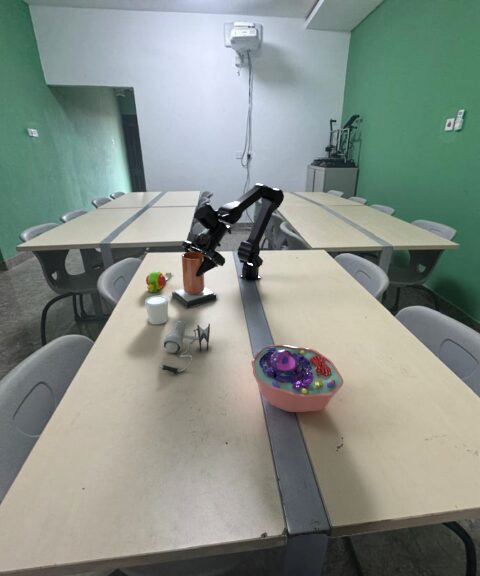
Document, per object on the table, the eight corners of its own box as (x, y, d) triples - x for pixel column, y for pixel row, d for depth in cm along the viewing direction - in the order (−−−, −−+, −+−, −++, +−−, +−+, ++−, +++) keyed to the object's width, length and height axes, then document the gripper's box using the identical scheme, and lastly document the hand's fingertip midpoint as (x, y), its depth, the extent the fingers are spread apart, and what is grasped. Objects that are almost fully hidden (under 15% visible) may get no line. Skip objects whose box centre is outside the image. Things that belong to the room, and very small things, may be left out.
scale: (200, 288, 122) (200, 283, 121) (216, 299, 115) (216, 292, 114) (172, 296, 115) (171, 290, 114) (187, 308, 108) (186, 301, 107)
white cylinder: (172, 315, 103) (171, 296, 100) (165, 326, 97) (163, 306, 94) (152, 313, 103) (150, 294, 101) (143, 324, 97) (140, 304, 94)
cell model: (320, 445, 60) (328, 400, 55) (234, 401, 69) (235, 359, 65) (347, 393, 73) (355, 352, 68) (272, 362, 83) (275, 324, 78)
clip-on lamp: (198, 384, 78) (213, 333, 92) (198, 368, 74) (214, 317, 88) (151, 377, 78) (174, 326, 92) (149, 361, 74) (172, 310, 89)
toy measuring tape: (141, 293, 117) (139, 277, 114) (162, 274, 134) (160, 259, 132) (158, 295, 116) (156, 278, 113) (176, 275, 134) (175, 261, 131)
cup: (203, 283, 118) (202, 251, 112) (205, 293, 112) (204, 259, 106) (183, 285, 116) (181, 252, 110) (184, 294, 110) (182, 260, 104)
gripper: (184, 218, 112) (159, 254, 110) (218, 228, 101) (191, 269, 98) (202, 236, 121) (180, 270, 118) (236, 247, 109) (211, 285, 107)
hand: (189, 273), depth 110 cm, fingers closed on cup, 7 cm apart
